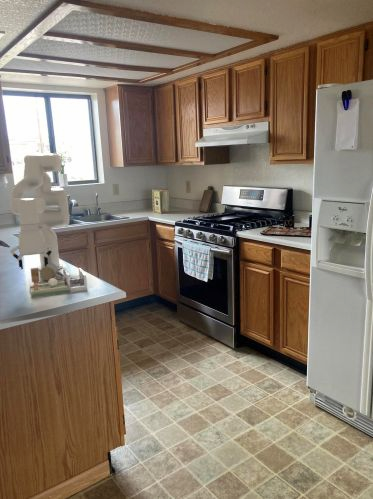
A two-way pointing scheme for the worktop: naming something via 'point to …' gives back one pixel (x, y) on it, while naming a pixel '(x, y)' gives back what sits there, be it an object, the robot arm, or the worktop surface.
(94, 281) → the worktop surface
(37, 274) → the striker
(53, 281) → the ball
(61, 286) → the field
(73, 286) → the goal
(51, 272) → the ceramic mug
